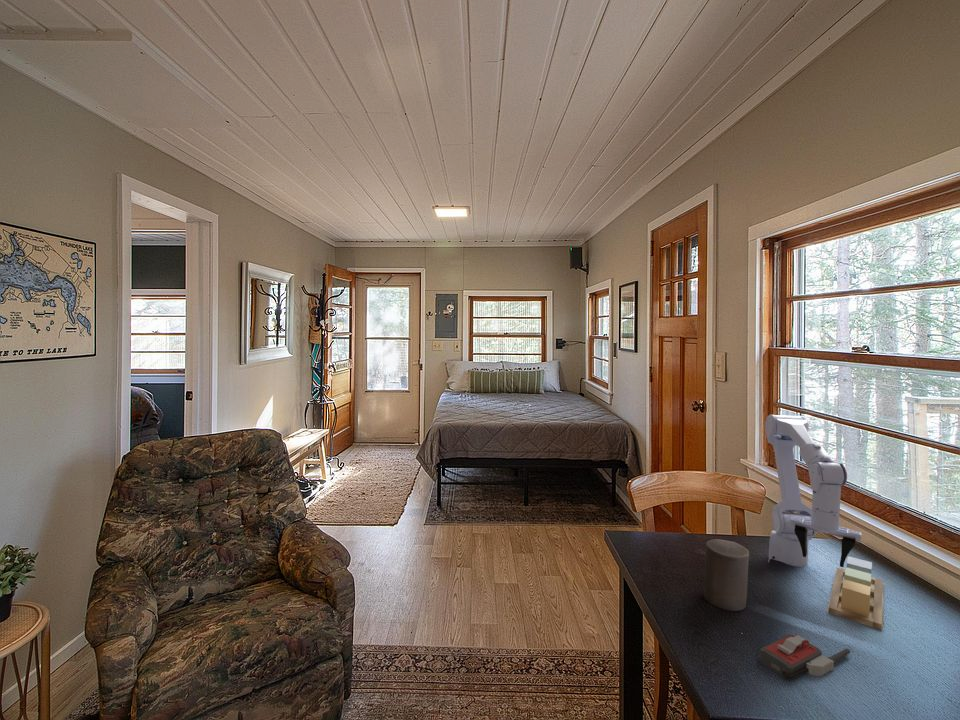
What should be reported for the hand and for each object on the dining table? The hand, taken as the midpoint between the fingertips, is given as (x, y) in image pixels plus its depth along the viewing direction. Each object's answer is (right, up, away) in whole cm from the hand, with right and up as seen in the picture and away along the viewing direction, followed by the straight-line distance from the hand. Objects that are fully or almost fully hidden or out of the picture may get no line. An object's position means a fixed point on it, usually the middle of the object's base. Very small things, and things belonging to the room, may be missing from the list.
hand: (822, 560), depth 118 cm
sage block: (+7, -8, -3) cm, 11 cm away
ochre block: (+1, -8, -9) cm, 12 cm away
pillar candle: (-26, -10, -2) cm, 28 cm away
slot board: (+6, -10, -3) cm, 12 cm away
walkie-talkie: (-21, -11, -23) cm, 33 cm away
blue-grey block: (+12, -8, +3) cm, 15 cm away
